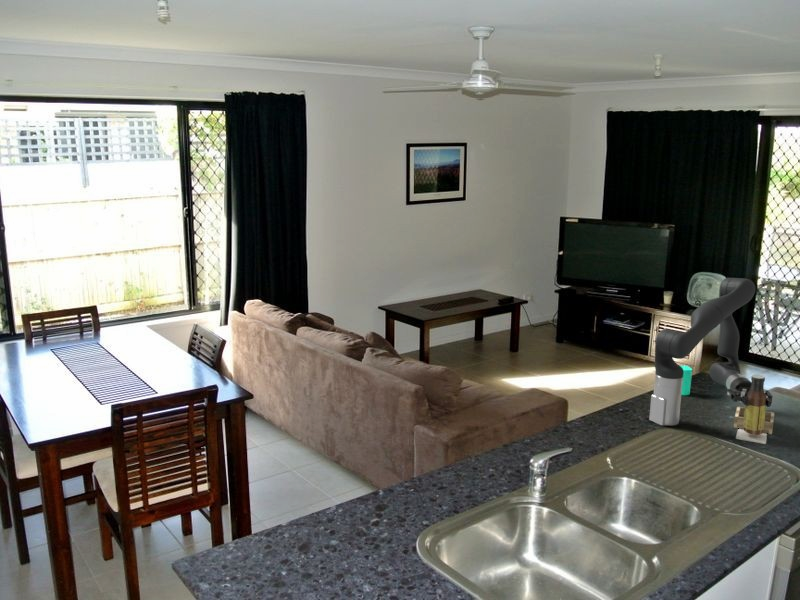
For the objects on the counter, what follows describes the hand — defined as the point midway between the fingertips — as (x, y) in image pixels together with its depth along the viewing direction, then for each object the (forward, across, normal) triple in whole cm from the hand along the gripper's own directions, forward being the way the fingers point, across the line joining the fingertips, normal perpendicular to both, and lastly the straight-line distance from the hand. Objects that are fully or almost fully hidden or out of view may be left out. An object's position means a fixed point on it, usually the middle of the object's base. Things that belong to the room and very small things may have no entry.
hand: (758, 403), depth 236 cm
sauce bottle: (-2, 0, +11) cm, 11 cm away
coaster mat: (-2, 0, +13) cm, 13 cm away
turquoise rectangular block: (-46, -11, +13) cm, 49 cm away
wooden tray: (-13, +5, +13) cm, 19 cm away
